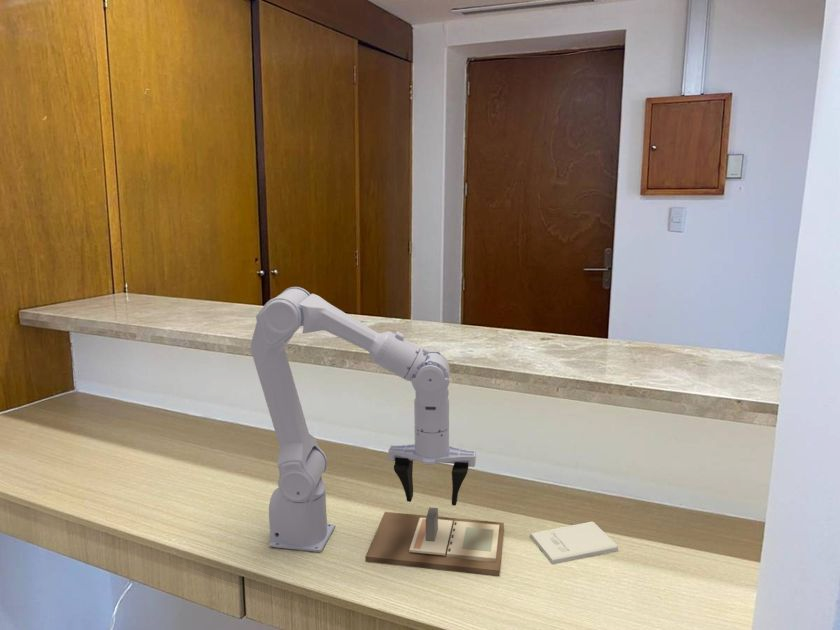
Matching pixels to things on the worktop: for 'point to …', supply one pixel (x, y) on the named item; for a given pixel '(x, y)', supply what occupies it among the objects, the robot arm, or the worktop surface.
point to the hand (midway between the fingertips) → (432, 500)
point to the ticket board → (466, 551)
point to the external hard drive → (573, 542)
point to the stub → (431, 534)
